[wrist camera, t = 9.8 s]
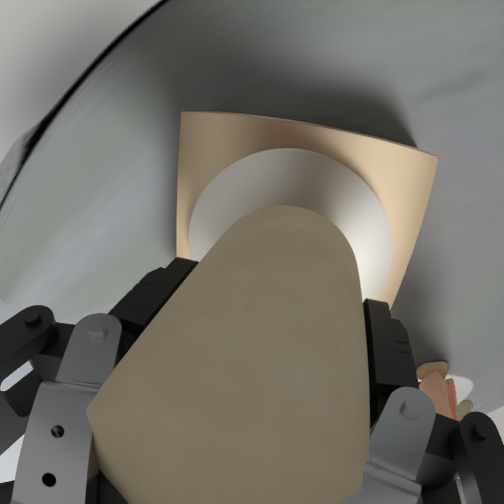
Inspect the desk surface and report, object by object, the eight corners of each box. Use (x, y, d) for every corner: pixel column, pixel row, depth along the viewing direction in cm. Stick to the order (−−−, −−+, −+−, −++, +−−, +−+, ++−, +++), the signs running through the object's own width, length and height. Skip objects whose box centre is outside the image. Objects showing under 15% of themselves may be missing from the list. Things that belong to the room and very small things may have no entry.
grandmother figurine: (436, 403, 20) (449, 535, 9) (395, 406, 21) (397, 545, 10) (465, 337, 17) (511, 498, 6) (418, 339, 18) (446, 518, 7)
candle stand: (418, 148, 13) (445, 160, 9) (364, 322, 18) (368, 368, 15) (208, 110, 15) (172, 112, 11) (198, 286, 20) (172, 323, 16)
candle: (248, 175, 10) (-10, 426, 2) (385, 247, 10) (436, 564, 2) (200, 291, 13) (64, 496, 4) (312, 346, 13) (265, 575, 4)
